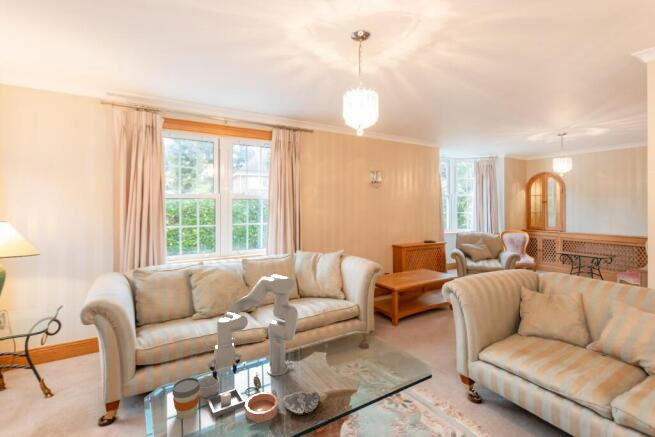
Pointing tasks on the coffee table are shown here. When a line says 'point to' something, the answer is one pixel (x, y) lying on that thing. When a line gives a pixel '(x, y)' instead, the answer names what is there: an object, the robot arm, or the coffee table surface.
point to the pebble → (225, 399)
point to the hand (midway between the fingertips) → (224, 375)
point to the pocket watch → (256, 383)
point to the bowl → (261, 407)
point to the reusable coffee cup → (186, 397)
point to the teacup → (209, 386)
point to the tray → (236, 403)
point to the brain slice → (301, 402)
